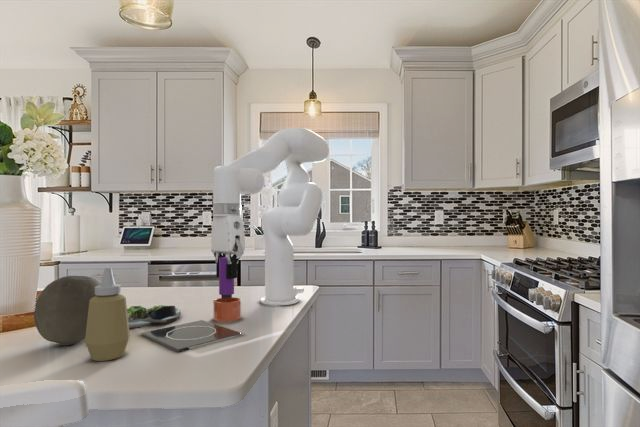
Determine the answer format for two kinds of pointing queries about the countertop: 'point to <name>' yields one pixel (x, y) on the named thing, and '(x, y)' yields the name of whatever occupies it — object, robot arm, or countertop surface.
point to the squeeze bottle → (107, 321)
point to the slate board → (189, 335)
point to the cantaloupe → (65, 309)
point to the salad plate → (152, 315)
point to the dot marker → (225, 280)
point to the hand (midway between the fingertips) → (226, 276)
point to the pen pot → (227, 309)
